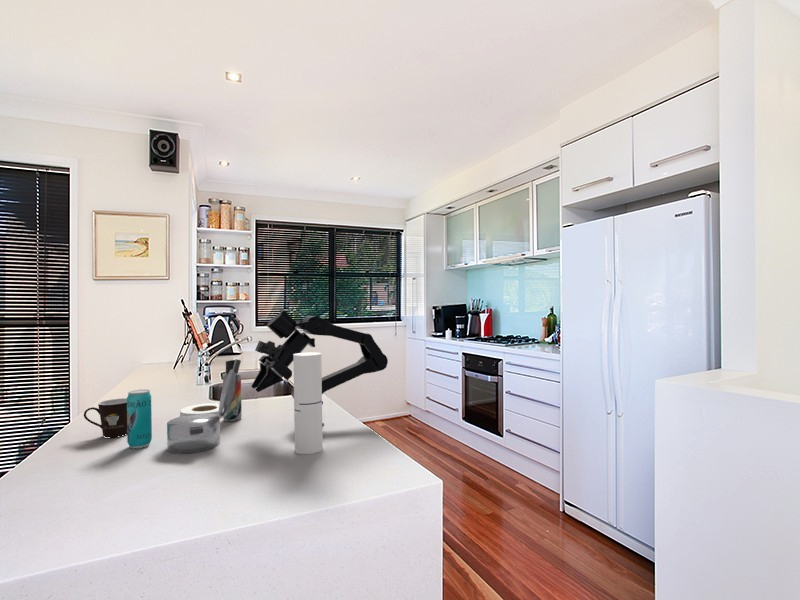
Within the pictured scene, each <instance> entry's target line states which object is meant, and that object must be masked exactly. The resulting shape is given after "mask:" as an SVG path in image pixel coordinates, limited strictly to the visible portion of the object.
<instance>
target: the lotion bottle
mask: <svg viewBox="0 0 800 600" xmlns="http://www.w3.org/2000/svg"><path fill="white" fill-rule="evenodd" d="M234 362H235V359H231V360H226V361H225V373H223V375H222V387H223V386H224V383H225V380H226V377H227V375H228V373H229V371H230V370H231V369H232V370H233V366H234ZM237 380H239V381H238V385H237V387H236V390H235V395H234V398H233V402H232V405H231V407H230V410H229V412H228V414H227V415H226V416H223V417H222V418H223V421H224V422H227V421H231V422H236V420H237V421H240V420H241V419H242V418H243V417H242V415H243V414H242V411H243V409H242V373H240V372H238V374H237Z"/></svg>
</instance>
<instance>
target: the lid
mask: <svg viewBox="0 0 800 600" xmlns="http://www.w3.org/2000/svg"><path fill="white" fill-rule="evenodd" d="M234 360H235V362H234V366H233V370H232V369H231V370H230V371H229V373H228V375H227V377H226V380H225V383H224V386H223V385H222V390H221V394H220V398H219V403H220V404H219V415H220V416H226V415H227V414H228V412H229V410H230V407H231V405H232V402H233V398H234V395H235V390H236V387H237V385H238V381H239V380H237V374H238V373H239V370H240V366H241V362H242V361H241V359H238V358H235V359H234Z"/></svg>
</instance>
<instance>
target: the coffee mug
mask: <svg viewBox="0 0 800 600" xmlns="http://www.w3.org/2000/svg"><path fill="white" fill-rule="evenodd" d="M97 404H98V408H97V407H94V406H93V407H88V408H87V409H86V410H84V412H83V418H84V419H85V420H86V421H87V422H89V423H90V424H93V425H95V426H97V427H99V428H100V429H101V430H102V431H101V432H102V437H103V436H105V437H118V436H122V435H125V434H127V397H125V398H124V397H123V398H114V399H113V398H112V399H108V400H102V401H99V402H98V403H97ZM92 410H93V411H94V410H95V411H96V412H97V413H98V415H99V417H100V423H98V422H95V421H93V420H91V419H90V418H88V417H87V413H88V412H89V411H92ZM125 436H126V435H125ZM122 437H123V436H122ZM118 438H119V437H118Z"/></svg>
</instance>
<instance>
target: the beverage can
mask: <svg viewBox="0 0 800 600" xmlns="http://www.w3.org/2000/svg"><path fill="white" fill-rule="evenodd" d="M127 394H128V395H127V397H126V398H127V435H126V437H127V438H126V439H127V440H126V442H127V445H128V446H129V448H130V449H131V448H133V449H132V450H136V449H135V448H140V449H144V448H147V447H148V445H149V446H150V445H151V442H152V439H153V438H152V437H153V435H152V434H153V431H152V429H153V424H152V422H153V420H152V419H153V418H152V416H153V415H152V395H151V390H150V389H137V390H131V391H128V392H127ZM146 446H147V447H146ZM143 447H144V448H143Z"/></svg>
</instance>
